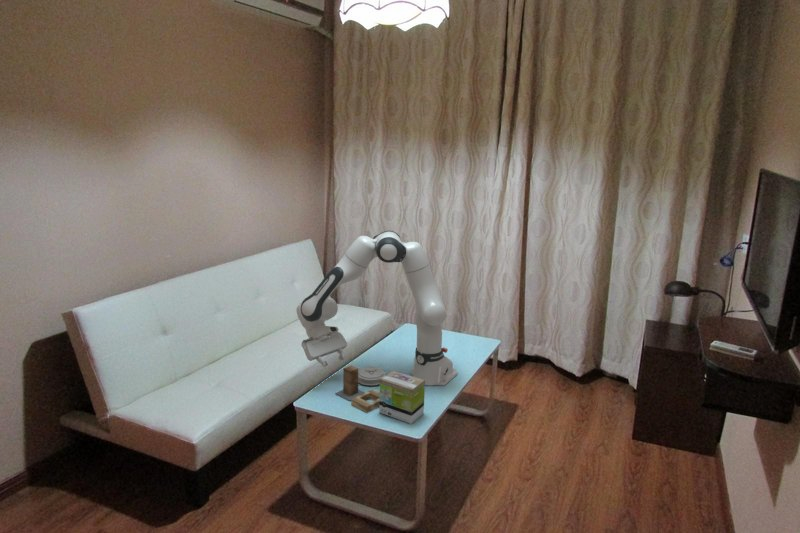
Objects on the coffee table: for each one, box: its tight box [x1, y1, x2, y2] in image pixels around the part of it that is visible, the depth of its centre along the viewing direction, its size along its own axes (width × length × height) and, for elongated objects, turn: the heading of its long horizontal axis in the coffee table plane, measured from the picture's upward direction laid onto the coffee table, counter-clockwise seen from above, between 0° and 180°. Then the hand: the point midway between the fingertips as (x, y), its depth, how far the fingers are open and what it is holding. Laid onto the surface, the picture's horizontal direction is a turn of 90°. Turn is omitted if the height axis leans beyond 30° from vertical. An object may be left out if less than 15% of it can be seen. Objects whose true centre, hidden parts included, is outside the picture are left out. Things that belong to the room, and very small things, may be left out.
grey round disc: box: [358, 366, 387, 386], centre depth 230 cm, size 13×13×5 cm
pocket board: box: [350, 389, 380, 414], centre depth 210 cm, size 12×9×2 cm
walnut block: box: [342, 365, 359, 396], centre depth 217 cm, size 4×4×11 cm
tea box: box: [378, 370, 426, 425], centre depth 201 cm, size 15×10×15 cm, turn 58°
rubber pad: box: [334, 388, 366, 402], centre depth 218 cm, size 9×9×1 cm
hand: (334, 362), depth 222 cm, fingers open, 8 cm apart
